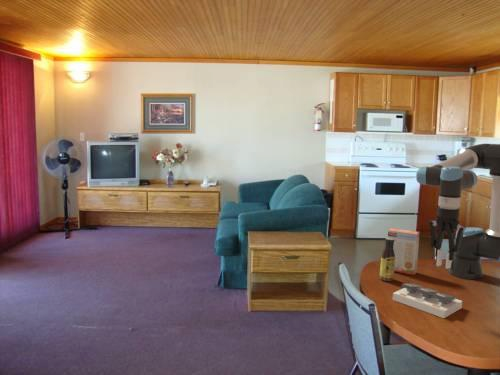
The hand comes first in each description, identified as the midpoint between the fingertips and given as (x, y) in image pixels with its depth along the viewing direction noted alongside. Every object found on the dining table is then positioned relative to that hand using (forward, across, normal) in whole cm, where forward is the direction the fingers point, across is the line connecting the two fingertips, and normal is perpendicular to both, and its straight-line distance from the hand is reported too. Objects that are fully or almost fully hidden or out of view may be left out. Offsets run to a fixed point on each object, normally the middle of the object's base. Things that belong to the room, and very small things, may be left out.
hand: (443, 266), depth 169 cm
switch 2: (+14, 0, +3) cm, 14 cm away
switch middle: (+14, -7, +3) cm, 16 cm away
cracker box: (+19, -35, +30) cm, 50 cm away
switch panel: (+19, -7, +3) cm, 20 cm away
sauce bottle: (+19, -33, +14) cm, 41 cm away
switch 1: (+14, -14, +3) cm, 20 cm away
